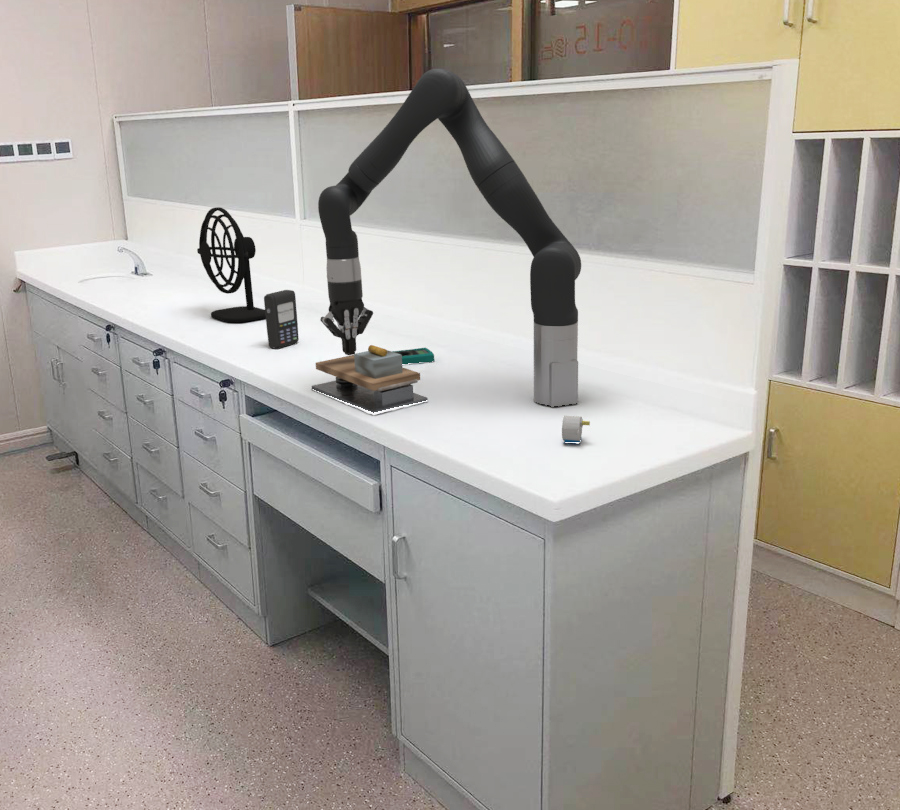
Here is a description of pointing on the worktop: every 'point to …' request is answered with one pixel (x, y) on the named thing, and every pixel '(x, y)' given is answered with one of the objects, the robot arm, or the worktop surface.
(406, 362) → the digital multimeter
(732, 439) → the worktop surface
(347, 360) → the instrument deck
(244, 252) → the desk fan
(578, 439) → the electric motor
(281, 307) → the card reader
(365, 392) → the levelling stand
